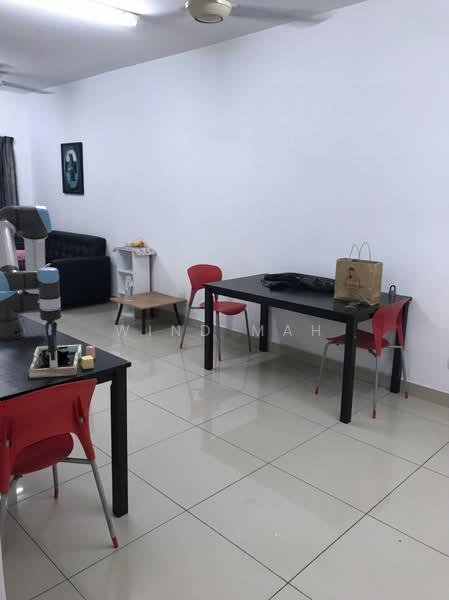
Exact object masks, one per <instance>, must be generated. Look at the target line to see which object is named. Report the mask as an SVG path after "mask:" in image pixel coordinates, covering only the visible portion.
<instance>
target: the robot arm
mask: <svg viewBox="0 0 449 600" xmlns="http://www.w3.org/2000/svg"><path fill="white" fill-rule="evenodd" d="M51 221H52V220H51V217H50V213H49V210H48V208H47V207H46V206H44V205H7V206H4V207H2V208H0V341H4V342H5V341H14V340H18V339H21V338H23V337H25V336H26V329H25V326H24V325H23V322H22V320H21V315H22V314H23V315H25V314H26V315H27V314H36V313H37V314H38V313H39V318H40V320H42V321H46V322H45V325H44V328H45V333H46V340H47V346H48V350H47V352H49V359H50V368H59V367H58V362H57V350H59V348H57V346H58V340H57V339H58V338H57V336H58V335H57V334H58V333H57V332H58V329H57V328H58V322H57V321H56V320H59V319H61V318H62V309H61V294H60V274H59V269H57V267H46V243H45V242H46V241H45V240H46V239H48V237H49V233H51V232H52V231H53V230H52V228H53V227H52V222H51ZM16 233H19V234H20V237H21V238H23V240H24V241H23V242H24V258H25V259H24V261H25V270H20V267H19V261H18V254H17V248H16V243H15V236H14V235H15V234H16Z"/></svg>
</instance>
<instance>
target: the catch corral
mask: <svg viewBox="0 0 449 600" xmlns="http://www.w3.org/2000/svg"><path fill="white" fill-rule="evenodd" d="M63 346H67V347H68V351H69V352H70V353H78V358H79V360H81V357H82V351H83V350H82V344H69V345H57V347H63ZM45 349H48V345H46V346H37V347H35V351H34V353H33V358H34V357H35V355H38V358H39V357H40V355H41V352H42V350H45Z"/></svg>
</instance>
